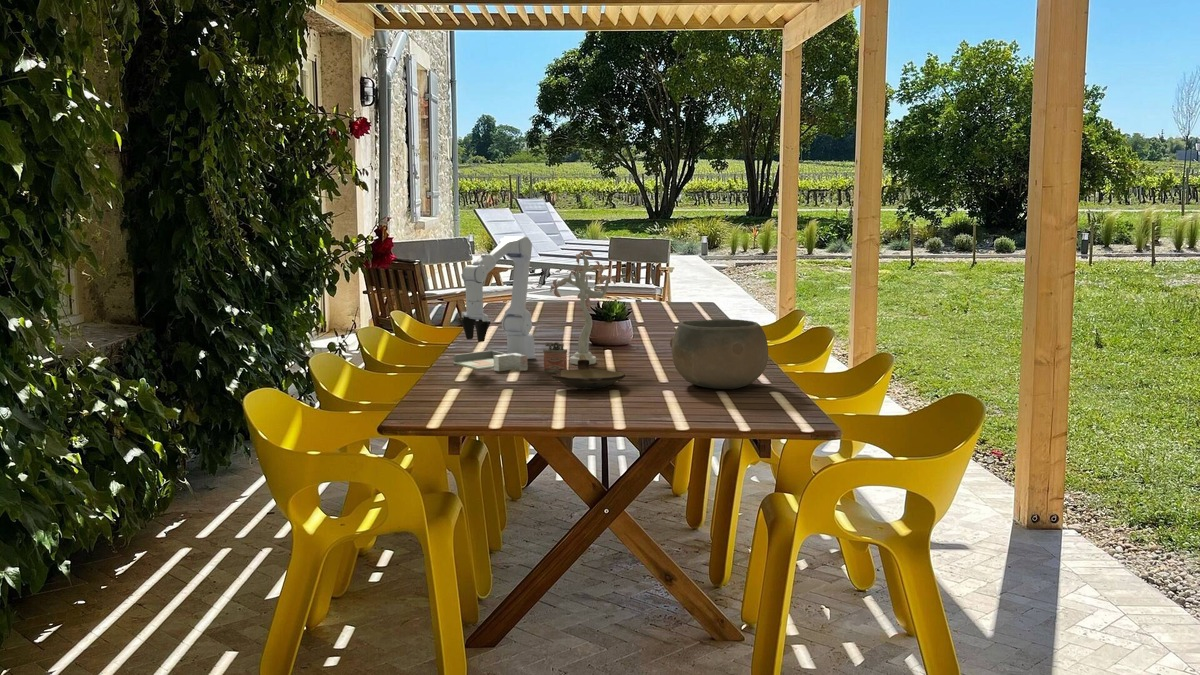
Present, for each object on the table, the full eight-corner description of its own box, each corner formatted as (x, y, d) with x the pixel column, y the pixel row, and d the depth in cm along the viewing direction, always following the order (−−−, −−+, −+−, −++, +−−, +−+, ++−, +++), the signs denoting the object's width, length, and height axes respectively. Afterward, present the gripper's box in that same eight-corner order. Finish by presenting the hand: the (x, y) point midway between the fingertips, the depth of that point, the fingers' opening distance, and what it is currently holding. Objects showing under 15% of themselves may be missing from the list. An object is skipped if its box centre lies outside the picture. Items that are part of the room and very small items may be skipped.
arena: (492, 358, 360) (492, 350, 360) (517, 364, 348) (516, 355, 348) (453, 363, 351) (453, 354, 350) (477, 369, 338) (477, 360, 338)
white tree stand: (556, 355, 367) (554, 246, 362) (619, 356, 365) (619, 246, 360) (545, 368, 340) (543, 251, 334) (613, 369, 338) (613, 251, 332)
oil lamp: (542, 394, 296) (541, 369, 295) (568, 376, 325) (568, 353, 324) (615, 397, 291) (615, 371, 290) (635, 379, 320) (636, 355, 319)
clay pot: (655, 381, 315) (656, 319, 312) (739, 375, 325) (740, 314, 323) (697, 399, 288) (698, 331, 285) (787, 392, 298) (788, 325, 295)
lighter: (568, 370, 335) (567, 341, 334) (566, 372, 332) (566, 342, 330) (544, 370, 336) (544, 341, 335) (542, 372, 333) (542, 342, 331)
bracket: (515, 367, 342) (515, 352, 342) (527, 369, 337) (527, 355, 336) (493, 370, 337) (493, 355, 336) (505, 372, 331) (505, 358, 331)
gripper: (453, 299, 340) (454, 339, 342) (475, 303, 329) (476, 343, 331) (471, 298, 345) (472, 337, 346) (493, 301, 333) (494, 341, 335)
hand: (475, 340), depth 339 cm, fingers open, 7 cm apart
